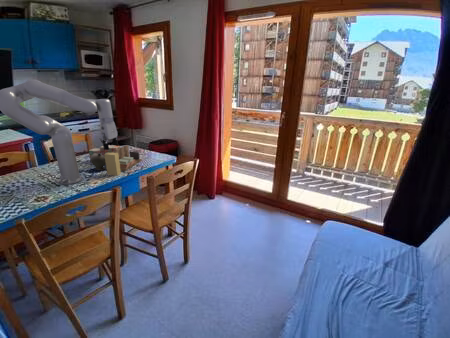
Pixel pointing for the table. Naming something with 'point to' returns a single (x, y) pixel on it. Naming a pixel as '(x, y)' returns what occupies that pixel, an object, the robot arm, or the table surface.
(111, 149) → the stack of blocks
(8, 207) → the table surface
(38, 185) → the table surface
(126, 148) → the shelf
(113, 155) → the book
